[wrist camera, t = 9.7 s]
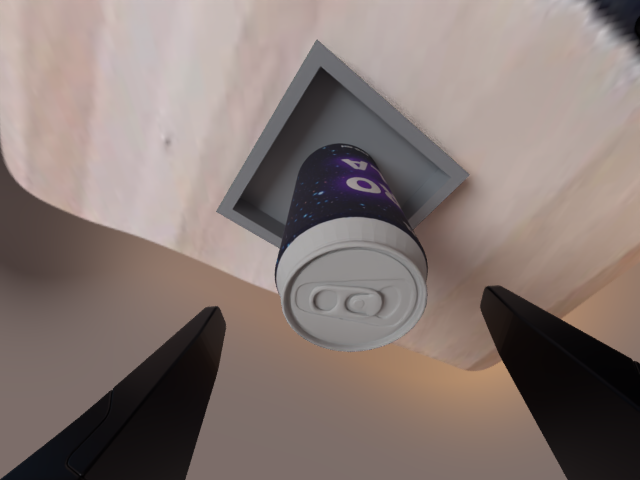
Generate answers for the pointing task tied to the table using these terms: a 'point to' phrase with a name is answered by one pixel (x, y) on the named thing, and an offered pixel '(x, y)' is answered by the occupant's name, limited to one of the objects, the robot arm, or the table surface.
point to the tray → (331, 128)
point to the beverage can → (349, 255)
